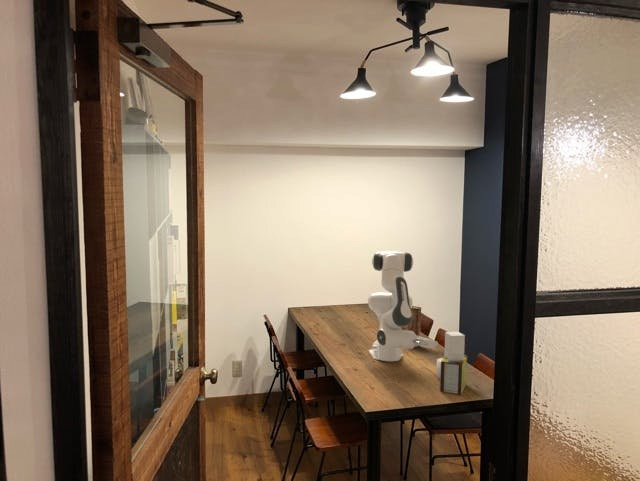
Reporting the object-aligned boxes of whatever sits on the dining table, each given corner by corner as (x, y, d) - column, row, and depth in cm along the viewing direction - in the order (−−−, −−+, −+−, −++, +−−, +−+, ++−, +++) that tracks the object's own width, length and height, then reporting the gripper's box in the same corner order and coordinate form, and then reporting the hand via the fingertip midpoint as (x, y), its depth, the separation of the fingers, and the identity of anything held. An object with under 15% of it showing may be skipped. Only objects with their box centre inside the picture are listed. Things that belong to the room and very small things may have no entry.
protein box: (466, 384, 248) (467, 355, 247) (461, 395, 234) (462, 364, 233) (445, 380, 253) (446, 351, 251) (439, 391, 239) (440, 360, 237)
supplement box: (464, 360, 238) (465, 335, 237) (450, 361, 237) (451, 336, 236) (457, 355, 246) (458, 331, 244) (443, 356, 244) (444, 331, 243)
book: (421, 345, 312) (422, 307, 310) (417, 347, 308) (418, 309, 306) (397, 340, 322) (398, 303, 319) (394, 342, 317) (395, 305, 315)
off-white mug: (452, 380, 253) (453, 363, 253) (436, 379, 255) (437, 362, 254) (451, 373, 263) (451, 357, 262) (436, 372, 265) (436, 356, 264)
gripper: (422, 337, 225) (445, 339, 231) (397, 329, 244) (419, 331, 250) (420, 350, 225) (443, 352, 231) (395, 342, 244) (417, 344, 249)
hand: (430, 341), depth 240 cm, fingers open, 8 cm apart
